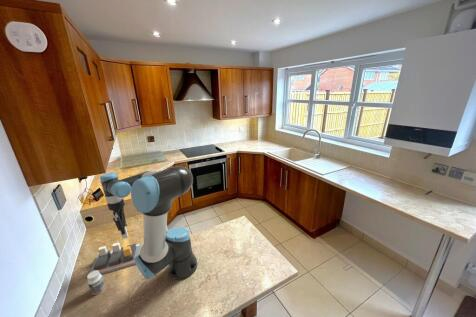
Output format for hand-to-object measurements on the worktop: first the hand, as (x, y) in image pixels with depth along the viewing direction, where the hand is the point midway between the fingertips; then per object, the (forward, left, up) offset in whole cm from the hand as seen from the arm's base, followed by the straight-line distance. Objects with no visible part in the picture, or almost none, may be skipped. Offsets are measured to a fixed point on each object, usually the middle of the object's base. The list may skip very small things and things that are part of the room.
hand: (125, 237), depth 109 cm
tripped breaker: (-2, 0, -10) cm, 10 cm away
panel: (+1, +7, -14) cm, 16 cm away
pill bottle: (-17, +12, -14) cm, 25 cm away
